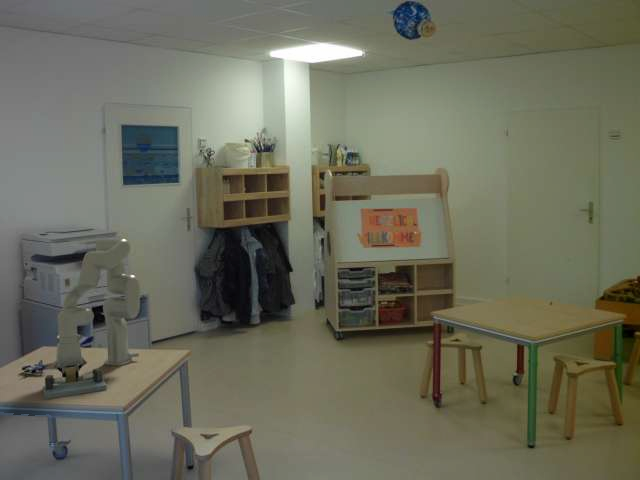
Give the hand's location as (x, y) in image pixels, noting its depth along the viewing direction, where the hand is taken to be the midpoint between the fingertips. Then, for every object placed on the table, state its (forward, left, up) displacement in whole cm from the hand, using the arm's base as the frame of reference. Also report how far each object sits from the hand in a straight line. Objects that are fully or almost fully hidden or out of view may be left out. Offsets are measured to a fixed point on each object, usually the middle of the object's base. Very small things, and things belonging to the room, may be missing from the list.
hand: (70, 380), depth 300 cm
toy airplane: (+14, -20, -1) cm, 24 cm away
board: (0, +14, 0) cm, 14 cm away
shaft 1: (+7, +13, +2) cm, 15 cm away
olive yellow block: (0, 0, -1) cm, 1 cm away
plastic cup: (-4, -37, -1) cm, 37 cm away
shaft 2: (-7, +13, +2) cm, 15 cm away
